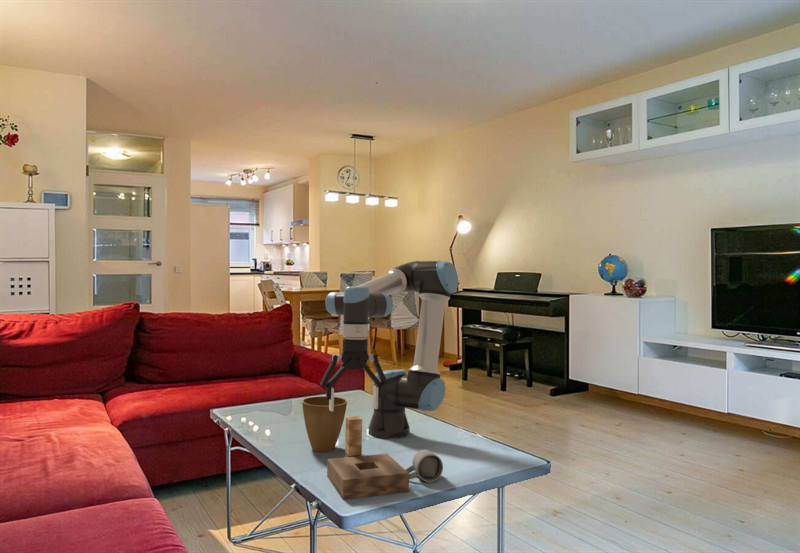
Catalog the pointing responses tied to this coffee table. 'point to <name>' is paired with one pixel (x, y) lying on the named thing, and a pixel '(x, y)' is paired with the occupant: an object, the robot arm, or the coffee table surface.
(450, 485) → the coffee table surface
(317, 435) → the plant pot
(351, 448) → the oak peg
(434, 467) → the ceramic mug
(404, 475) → the walnut socket block
